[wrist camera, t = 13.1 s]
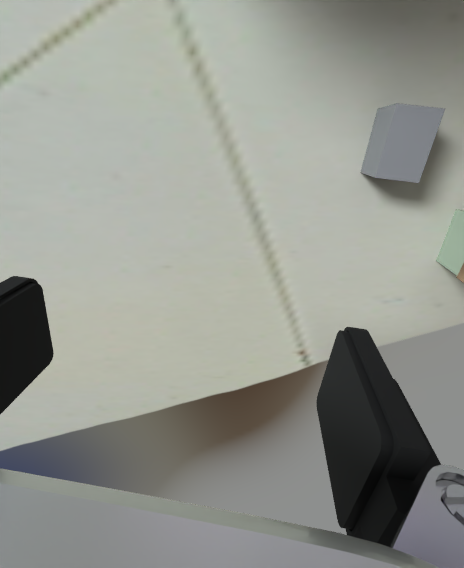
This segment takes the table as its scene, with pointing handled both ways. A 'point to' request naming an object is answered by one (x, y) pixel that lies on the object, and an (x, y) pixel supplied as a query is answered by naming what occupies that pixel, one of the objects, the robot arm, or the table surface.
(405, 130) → the grey toy block
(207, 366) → the table surface
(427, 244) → the table surface
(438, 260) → the sage brick
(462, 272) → the walnut brick
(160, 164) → the table surface
